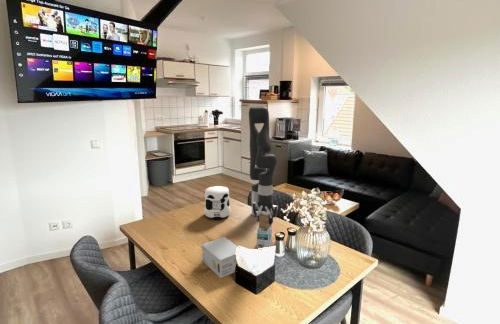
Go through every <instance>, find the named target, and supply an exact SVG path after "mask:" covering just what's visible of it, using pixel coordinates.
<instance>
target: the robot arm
mask: <svg viewBox="0 0 500 324" xmlns="http://www.w3.org/2000/svg"><path fill="white" fill-rule="evenodd" d="M248 122H249V123H248V125H249V156H250V157H249V159H250V160H249V178H250V180H252V181H258V182H257V183H254V184H252V186H251V216H253V217H256V220H257V223H259V215H260V214H261V213H262V212H267V213H268V214H269V216H270V222H269V224H272V225H273V223H274V218H275V219H276V217H277V215H278V212H279V210H278V209H279V205H278V204H277V205H274V202H273V200H274V199H273V197H274V187H273V182H274V181H273V178H274V177H273V176H274V172H275V169H276V166H277V162H278V160H277V156H276V155H275V154H272V153H270V152H271V151H272V146H271V139H270V113H269V109H268V107H266V106H252V107H250V108H249V109H248ZM256 124H263V125H262V127H261V129H260V131H259V130H258V129H257V127H256ZM272 208H273V210H272Z"/></svg>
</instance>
